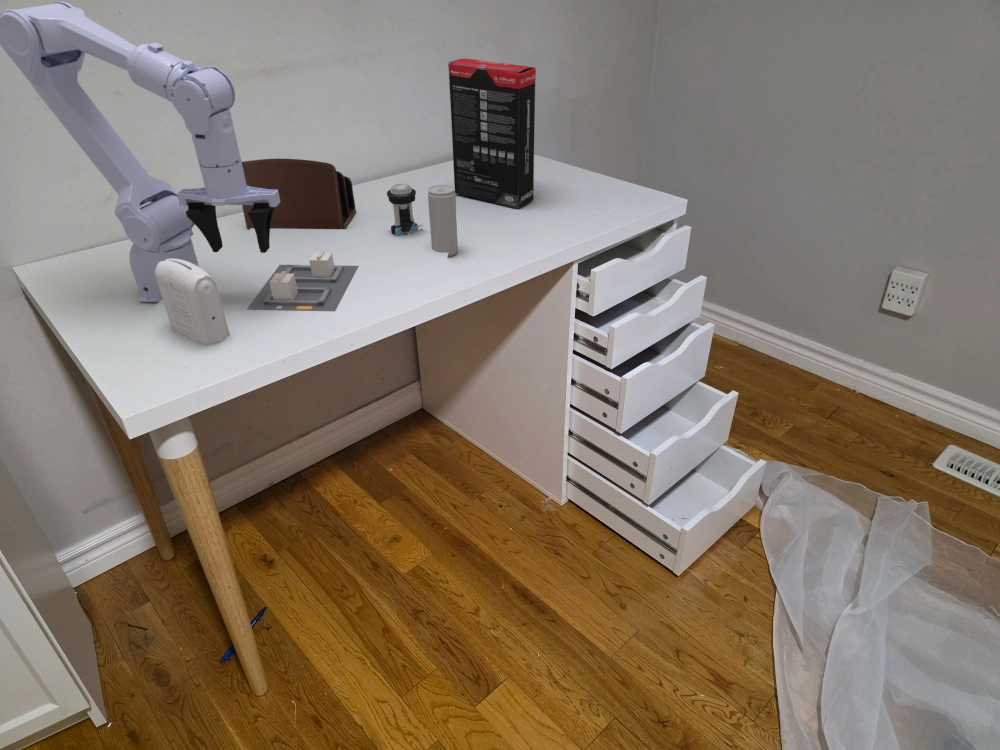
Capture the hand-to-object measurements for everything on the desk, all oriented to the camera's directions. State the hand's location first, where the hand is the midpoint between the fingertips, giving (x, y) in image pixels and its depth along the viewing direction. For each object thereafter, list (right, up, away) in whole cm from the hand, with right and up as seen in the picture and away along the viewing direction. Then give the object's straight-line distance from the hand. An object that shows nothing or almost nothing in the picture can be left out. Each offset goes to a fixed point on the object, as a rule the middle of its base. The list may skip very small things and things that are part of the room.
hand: (241, 249), depth 106 cm
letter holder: (0, +12, +34) cm, 36 cm away
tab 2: (+10, -2, +11) cm, 15 cm away
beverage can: (+30, +3, +21) cm, 36 cm away
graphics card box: (+38, +19, +43) cm, 61 cm away
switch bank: (+8, -6, +8) cm, 13 cm away
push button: (+22, +7, +27) cm, 36 cm away
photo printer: (-5, -14, -3) cm, 15 cm away
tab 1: (+5, -7, +4) cm, 10 cm away
